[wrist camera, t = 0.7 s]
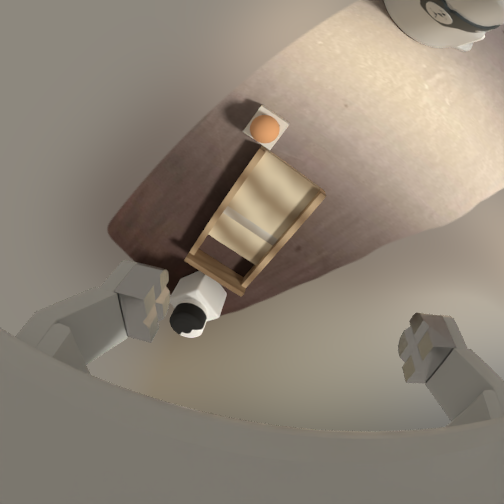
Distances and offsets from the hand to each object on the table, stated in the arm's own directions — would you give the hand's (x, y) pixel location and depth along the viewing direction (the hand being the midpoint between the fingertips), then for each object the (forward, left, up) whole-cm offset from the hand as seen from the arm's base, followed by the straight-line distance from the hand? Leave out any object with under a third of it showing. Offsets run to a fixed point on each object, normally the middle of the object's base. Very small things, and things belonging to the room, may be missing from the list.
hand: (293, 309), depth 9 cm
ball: (+1, -4, -33) cm, 34 cm away
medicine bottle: (+33, +3, -37) cm, 50 cm away
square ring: (+1, -4, -37) cm, 37 cm away
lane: (+15, +3, -37) cm, 40 cm away
